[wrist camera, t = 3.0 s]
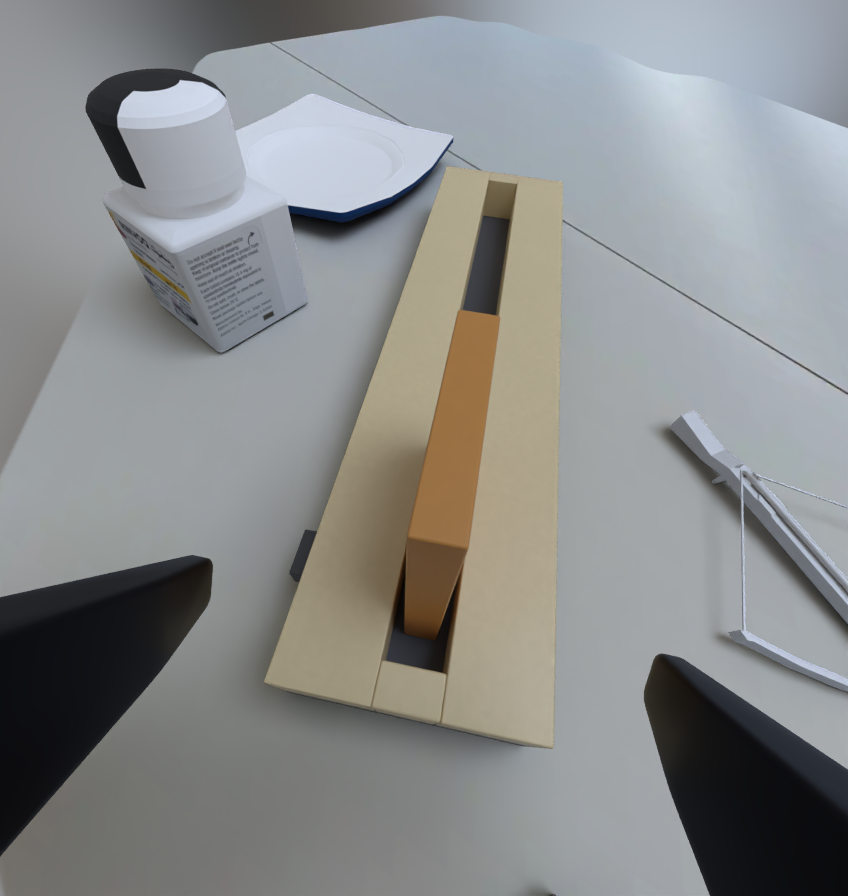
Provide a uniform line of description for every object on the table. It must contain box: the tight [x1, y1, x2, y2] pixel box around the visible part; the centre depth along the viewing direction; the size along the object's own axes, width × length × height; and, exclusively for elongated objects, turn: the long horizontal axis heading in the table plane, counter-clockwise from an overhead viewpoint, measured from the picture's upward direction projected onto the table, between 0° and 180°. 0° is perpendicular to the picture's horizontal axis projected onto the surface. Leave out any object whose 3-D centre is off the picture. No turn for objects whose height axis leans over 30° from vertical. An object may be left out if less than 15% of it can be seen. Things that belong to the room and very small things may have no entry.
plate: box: [235, 94, 453, 222], centre depth 42 cm, size 20×20×3 cm
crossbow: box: [670, 410, 848, 692], centre depth 22 cm, size 16×13×2 cm
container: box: [86, 69, 308, 352], centre depth 26 cm, size 8×8×13 cm
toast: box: [404, 310, 500, 640], centre depth 16 cm, size 8×1×11 cm, turn 169°
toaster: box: [264, 166, 563, 749], centre depth 27 cm, size 40×11×4 cm, turn 169°
